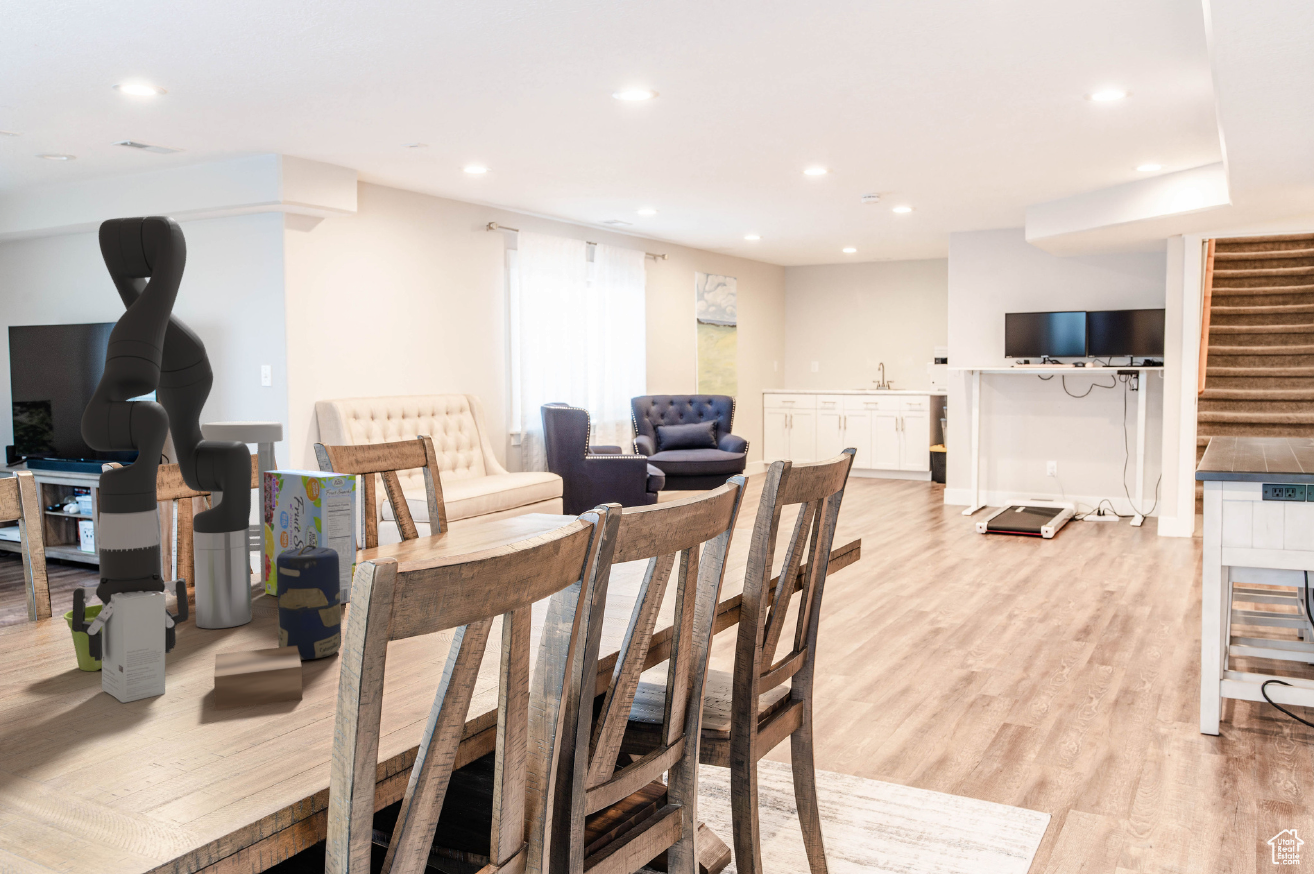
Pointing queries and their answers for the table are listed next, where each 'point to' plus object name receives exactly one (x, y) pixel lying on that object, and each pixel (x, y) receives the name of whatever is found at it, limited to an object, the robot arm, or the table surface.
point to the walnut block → (257, 677)
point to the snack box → (310, 519)
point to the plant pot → (84, 640)
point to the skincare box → (134, 646)
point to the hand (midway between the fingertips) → (133, 655)
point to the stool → (265, 437)
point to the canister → (309, 601)
